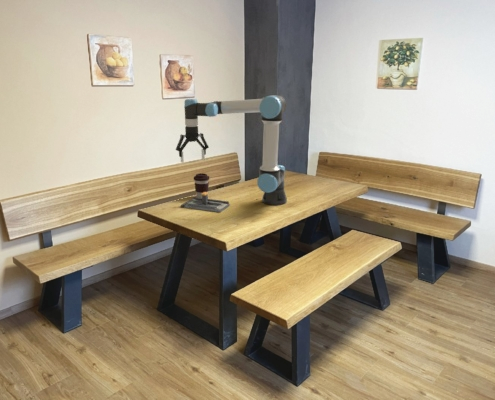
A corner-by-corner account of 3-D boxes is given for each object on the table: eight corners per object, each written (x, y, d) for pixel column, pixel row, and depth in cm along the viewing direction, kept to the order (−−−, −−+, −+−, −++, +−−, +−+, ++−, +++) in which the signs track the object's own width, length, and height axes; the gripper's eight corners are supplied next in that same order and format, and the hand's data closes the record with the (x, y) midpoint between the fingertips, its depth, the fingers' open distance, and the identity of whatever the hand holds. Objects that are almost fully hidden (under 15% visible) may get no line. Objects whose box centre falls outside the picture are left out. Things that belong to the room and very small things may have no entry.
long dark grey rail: (229, 203, 255) (229, 200, 255) (227, 204, 253) (227, 202, 252) (195, 199, 264) (195, 196, 263) (193, 200, 261) (192, 197, 261)
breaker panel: (229, 206, 250) (229, 202, 250) (220, 212, 239) (219, 208, 238) (191, 201, 260) (191, 197, 259) (180, 207, 248) (180, 203, 248)
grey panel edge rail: (195, 201, 259) (195, 198, 259) (183, 207, 247) (183, 205, 247) (193, 201, 260) (192, 198, 260) (181, 207, 248) (181, 204, 247)
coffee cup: (207, 199, 262) (206, 176, 258) (192, 198, 264) (191, 175, 260) (211, 195, 272) (211, 173, 267) (197, 194, 274) (196, 172, 269)
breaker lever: (208, 203, 250) (208, 192, 248) (205, 205, 247) (205, 194, 245) (204, 203, 251) (204, 191, 249) (201, 204, 248) (201, 193, 246)
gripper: (208, 124, 256) (209, 158, 262) (169, 126, 245) (171, 161, 251) (213, 125, 250) (214, 160, 256) (173, 127, 238) (175, 164, 245)
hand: (192, 161), depth 254 cm, fingers open, 13 cm apart
